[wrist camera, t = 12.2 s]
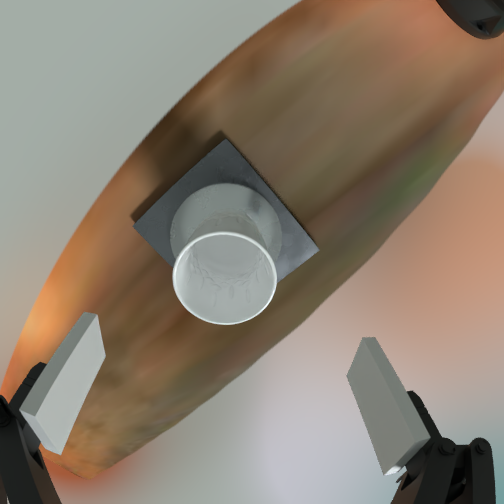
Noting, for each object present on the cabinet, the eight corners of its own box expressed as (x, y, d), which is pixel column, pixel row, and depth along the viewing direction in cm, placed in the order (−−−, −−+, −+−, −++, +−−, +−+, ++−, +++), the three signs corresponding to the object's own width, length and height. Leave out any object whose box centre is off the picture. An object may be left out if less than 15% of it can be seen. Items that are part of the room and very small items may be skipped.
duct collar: (226, 138, 29) (225, 138, 28) (317, 246, 34) (321, 252, 33) (135, 223, 32) (130, 228, 30) (227, 315, 37) (227, 323, 35)
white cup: (179, 217, 30) (155, 253, 21) (250, 191, 30) (256, 215, 20) (208, 281, 33) (198, 335, 24) (274, 258, 33) (289, 307, 23)
